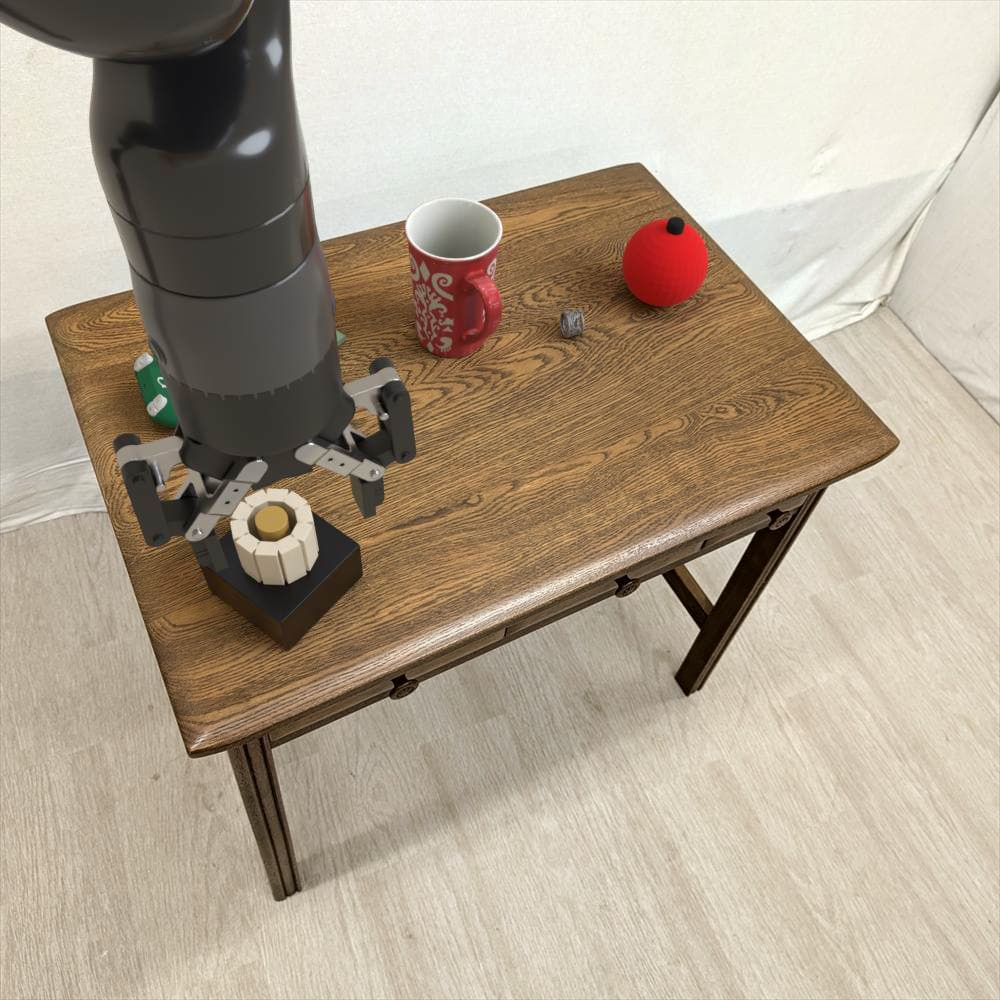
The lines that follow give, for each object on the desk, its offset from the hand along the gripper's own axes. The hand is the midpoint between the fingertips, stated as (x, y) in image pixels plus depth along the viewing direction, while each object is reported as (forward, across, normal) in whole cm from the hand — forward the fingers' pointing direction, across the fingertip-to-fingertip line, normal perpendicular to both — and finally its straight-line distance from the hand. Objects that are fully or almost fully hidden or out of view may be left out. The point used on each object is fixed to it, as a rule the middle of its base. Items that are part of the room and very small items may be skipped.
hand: (292, 530), depth 51 cm
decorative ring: (+24, -36, -28) cm, 52 cm away
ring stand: (+24, 0, -11) cm, 26 cm away
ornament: (+24, -48, -29) cm, 61 cm away
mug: (+24, -25, -31) cm, 46 cm away
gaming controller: (+24, +3, -34) cm, 41 cm away
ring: (+19, 0, -11) cm, 22 cm away
